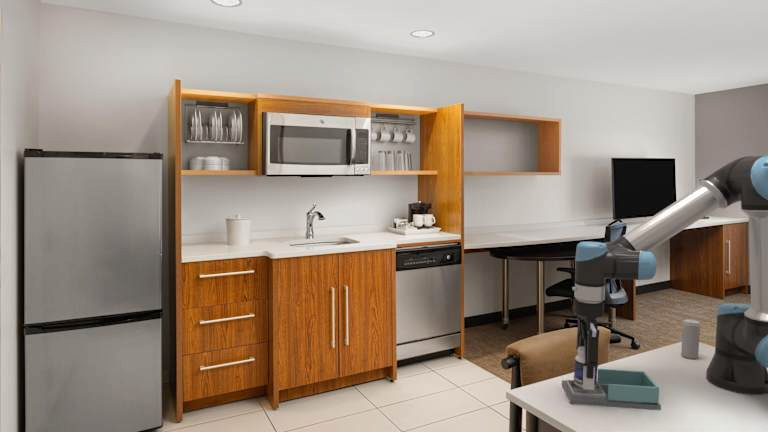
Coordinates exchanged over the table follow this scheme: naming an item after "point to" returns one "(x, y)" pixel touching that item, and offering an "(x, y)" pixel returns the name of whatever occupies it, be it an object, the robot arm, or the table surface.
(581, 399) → the plate
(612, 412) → the table surface
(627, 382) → the housing
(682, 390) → the table surface
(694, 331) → the beverage can
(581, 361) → the pill bottle
